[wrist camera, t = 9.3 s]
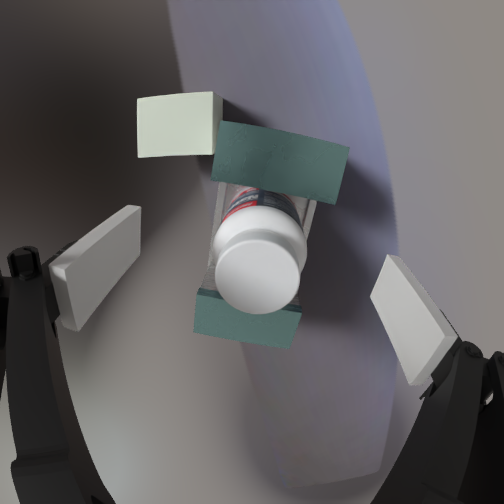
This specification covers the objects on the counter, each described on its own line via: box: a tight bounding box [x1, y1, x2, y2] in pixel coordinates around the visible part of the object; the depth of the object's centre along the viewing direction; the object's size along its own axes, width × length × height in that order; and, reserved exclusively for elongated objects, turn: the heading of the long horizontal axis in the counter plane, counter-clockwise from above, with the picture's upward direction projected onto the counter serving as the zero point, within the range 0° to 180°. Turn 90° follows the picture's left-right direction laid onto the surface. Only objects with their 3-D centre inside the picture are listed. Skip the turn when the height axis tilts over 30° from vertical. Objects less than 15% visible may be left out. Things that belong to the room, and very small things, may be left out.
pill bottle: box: [213, 187, 307, 314], centre depth 17 cm, size 5×5×9 cm
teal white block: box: [194, 120, 349, 349], centre depth 19 cm, size 13×7×7 cm, turn 170°
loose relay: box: [137, 92, 223, 158], centre depth 18 cm, size 4×5×4 cm
